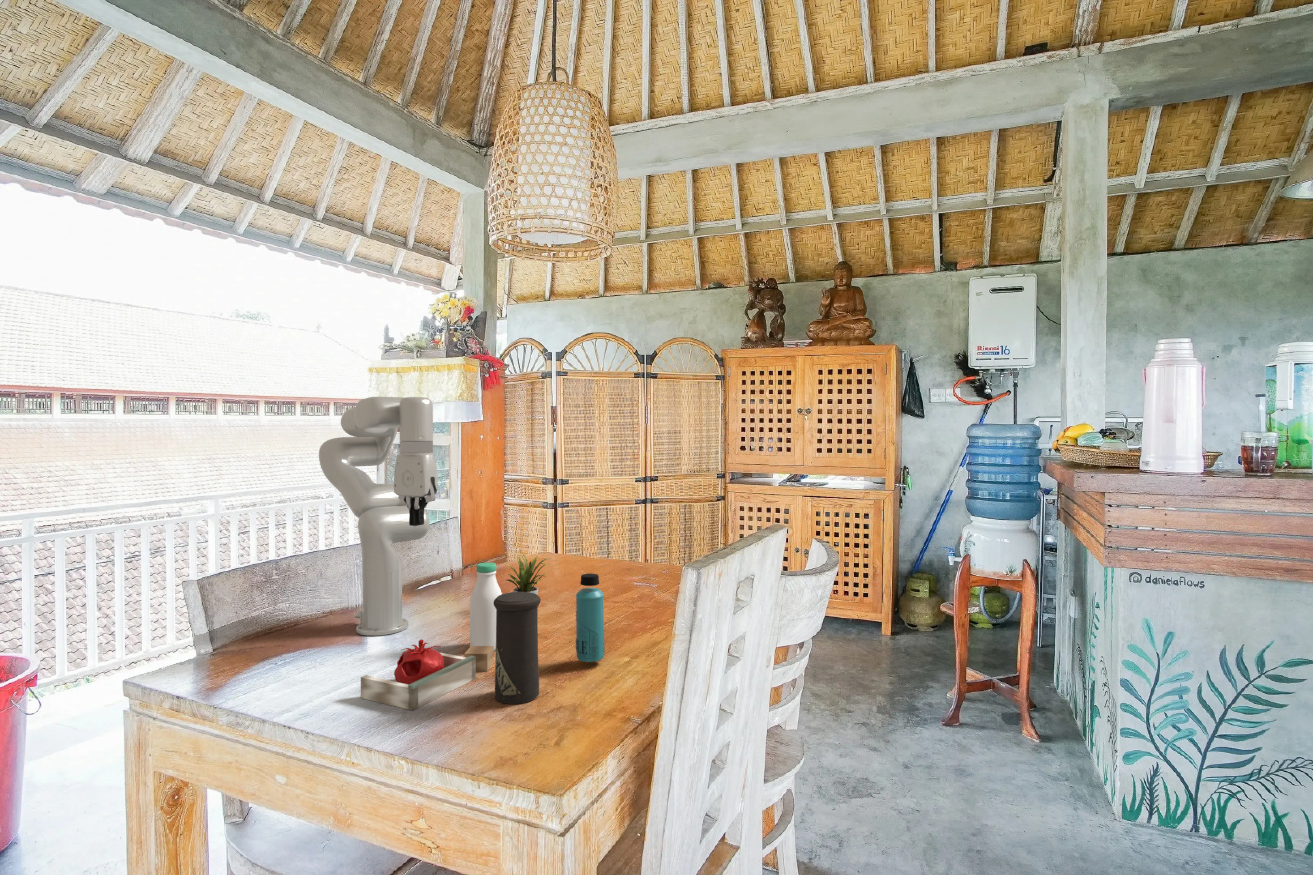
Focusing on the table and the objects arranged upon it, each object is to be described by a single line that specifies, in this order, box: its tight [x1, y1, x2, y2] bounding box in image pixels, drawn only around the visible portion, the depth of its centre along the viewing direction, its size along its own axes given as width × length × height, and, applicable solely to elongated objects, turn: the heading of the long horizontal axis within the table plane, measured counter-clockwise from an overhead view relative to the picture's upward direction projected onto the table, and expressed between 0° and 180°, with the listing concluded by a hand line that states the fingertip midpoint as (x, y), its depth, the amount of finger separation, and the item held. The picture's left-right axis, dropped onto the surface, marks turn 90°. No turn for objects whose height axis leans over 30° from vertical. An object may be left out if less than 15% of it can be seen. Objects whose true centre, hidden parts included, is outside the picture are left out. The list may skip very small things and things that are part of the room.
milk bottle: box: [469, 562, 503, 651], centre depth 156 cm, size 8×8×20 cm
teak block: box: [463, 646, 495, 673], centre depth 143 cm, size 5×5×4 cm
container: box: [494, 591, 541, 705], centre depth 128 cm, size 9×9×20 cm
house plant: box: [503, 553, 551, 596], centre depth 187 cm, size 14×14×16 cm
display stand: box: [360, 652, 477, 711], centre depth 132 cm, size 14×17×5 cm
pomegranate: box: [393, 639, 444, 685], centre depth 134 cm, size 10×10×9 cm
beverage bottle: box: [575, 572, 606, 663], centre depth 145 cm, size 6×7×20 cm
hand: (416, 524), depth 157 cm, fingers closed
